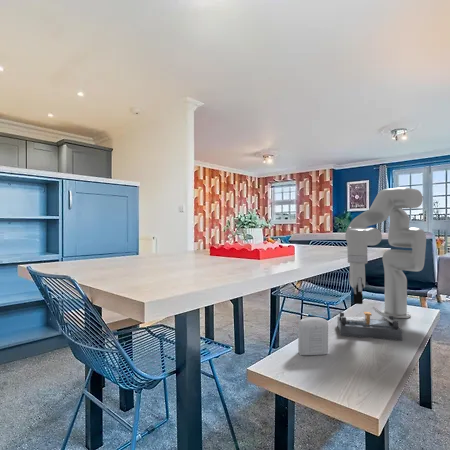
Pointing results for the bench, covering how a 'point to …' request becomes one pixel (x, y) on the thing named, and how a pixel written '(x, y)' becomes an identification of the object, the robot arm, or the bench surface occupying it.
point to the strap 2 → (383, 315)
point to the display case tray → (370, 328)
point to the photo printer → (313, 336)
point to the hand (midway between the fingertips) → (358, 303)
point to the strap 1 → (354, 319)
